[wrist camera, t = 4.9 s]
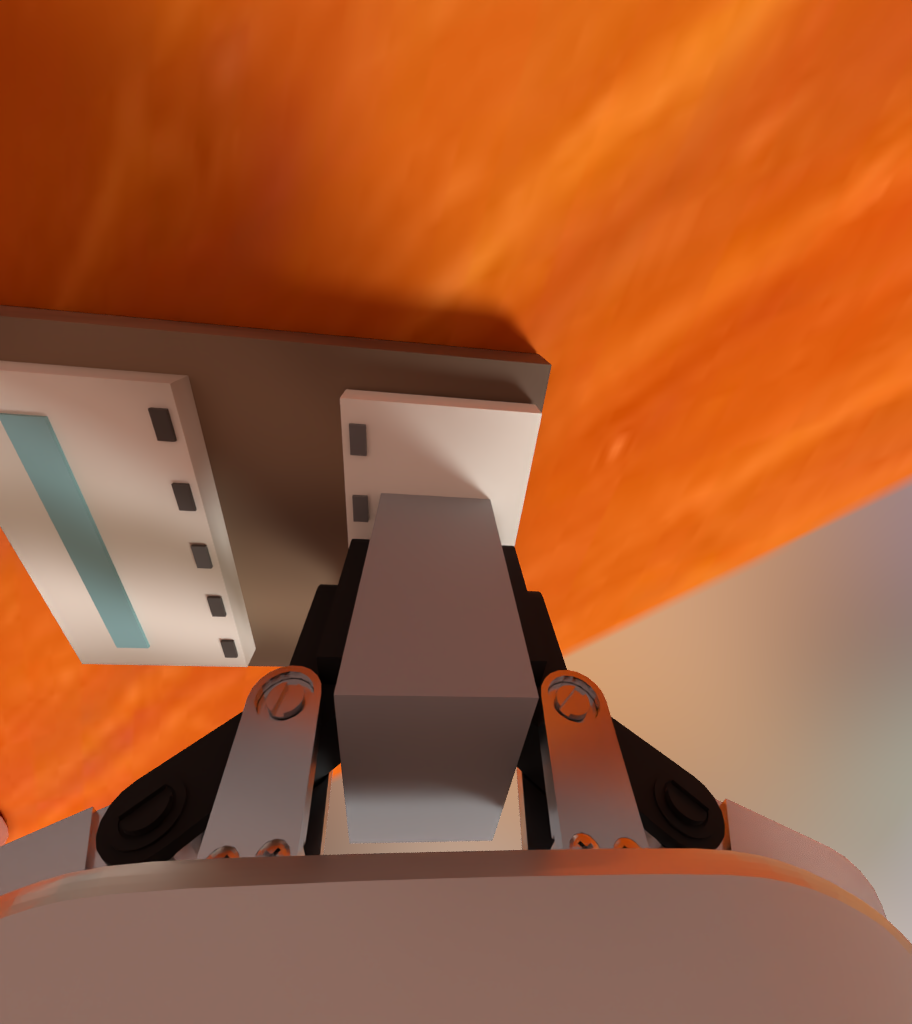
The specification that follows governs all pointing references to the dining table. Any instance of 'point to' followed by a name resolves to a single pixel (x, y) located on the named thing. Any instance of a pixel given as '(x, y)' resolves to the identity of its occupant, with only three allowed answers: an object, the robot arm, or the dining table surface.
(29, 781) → the dining table surface
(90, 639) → the board
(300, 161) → the dining table surface
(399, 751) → the stub
